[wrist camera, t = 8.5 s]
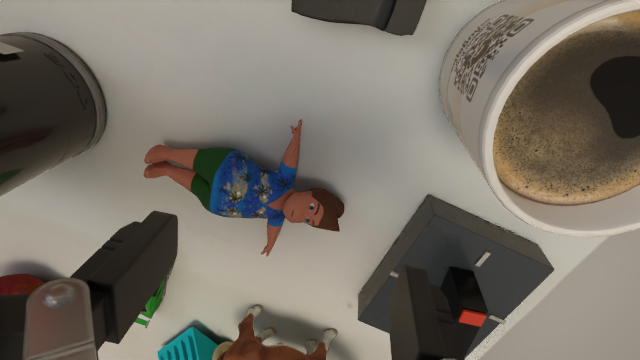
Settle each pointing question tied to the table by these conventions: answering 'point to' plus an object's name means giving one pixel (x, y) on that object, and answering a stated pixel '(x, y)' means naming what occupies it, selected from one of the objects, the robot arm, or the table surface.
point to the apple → (19, 284)
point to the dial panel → (458, 263)
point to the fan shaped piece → (365, 13)
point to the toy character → (247, 186)
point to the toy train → (192, 347)
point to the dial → (465, 304)
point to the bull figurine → (251, 356)
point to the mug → (552, 110)
